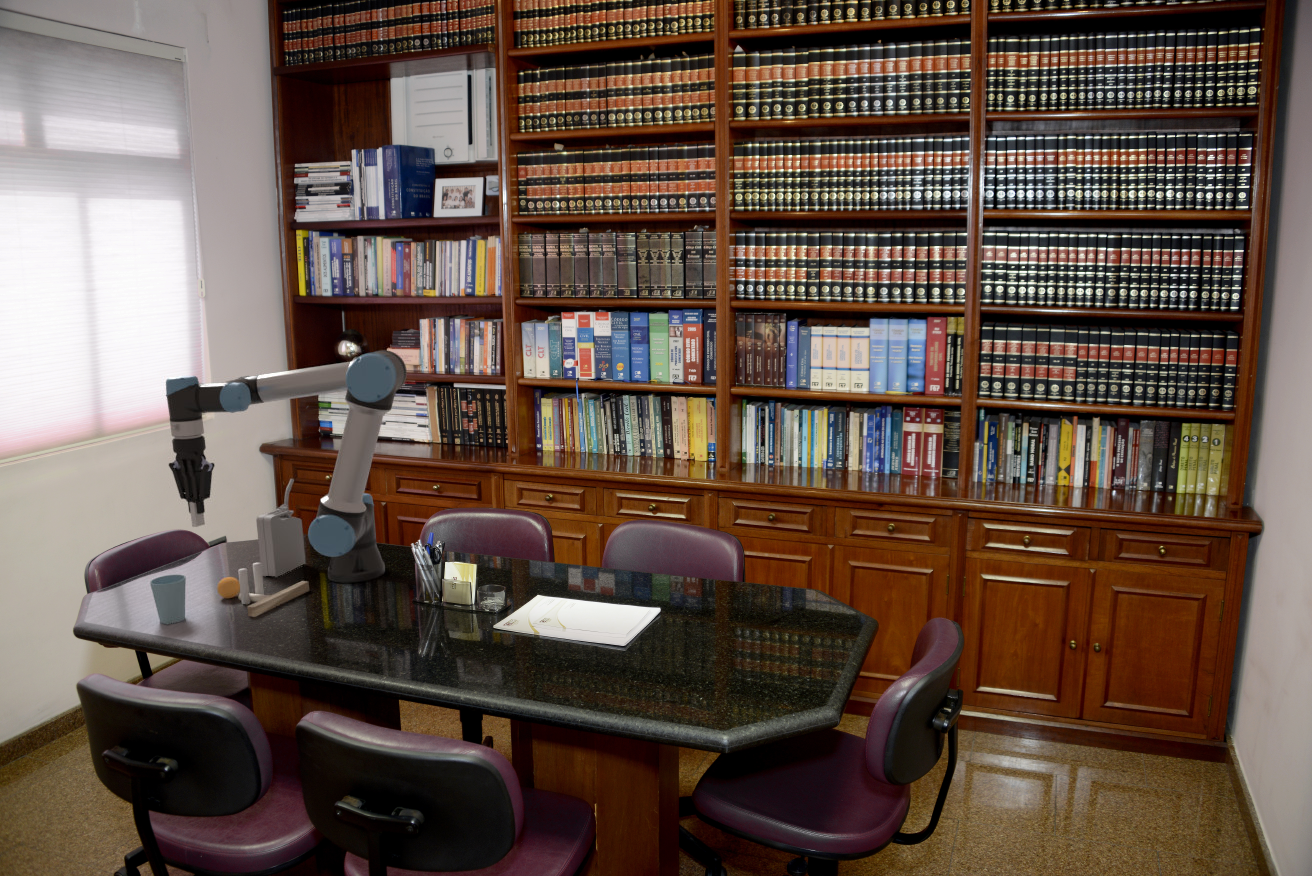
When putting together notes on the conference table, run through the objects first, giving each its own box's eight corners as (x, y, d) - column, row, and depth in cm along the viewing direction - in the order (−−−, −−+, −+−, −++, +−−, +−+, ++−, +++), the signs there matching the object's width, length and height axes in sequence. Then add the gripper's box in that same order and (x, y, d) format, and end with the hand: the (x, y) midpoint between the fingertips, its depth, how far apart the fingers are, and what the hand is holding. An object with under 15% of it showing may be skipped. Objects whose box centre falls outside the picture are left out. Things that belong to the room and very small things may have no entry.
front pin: (245, 595, 242) (273, 598, 239) (241, 601, 241) (269, 604, 238) (241, 590, 241) (269, 593, 238) (237, 597, 239) (265, 600, 237)
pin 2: (265, 595, 243) (262, 562, 242) (260, 598, 241) (257, 565, 240) (259, 595, 244) (256, 562, 242) (254, 597, 242) (250, 564, 241)
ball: (231, 570, 244) (226, 587, 246) (215, 577, 239) (210, 594, 241) (247, 580, 243) (242, 597, 245) (231, 587, 238) (226, 605, 240)
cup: (189, 622, 225) (184, 581, 223) (153, 628, 222) (148, 586, 220) (191, 612, 232) (186, 572, 230) (156, 617, 229) (151, 577, 227)
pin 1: (252, 602, 239) (248, 568, 237) (246, 604, 237) (242, 571, 235) (245, 601, 239) (242, 568, 238) (239, 604, 237) (236, 570, 236)
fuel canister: (297, 560, 274) (289, 477, 269) (311, 561, 272) (304, 478, 268) (261, 576, 259) (252, 489, 255) (275, 578, 258) (267, 490, 254)
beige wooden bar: (309, 590, 247) (308, 581, 246) (255, 616, 228) (254, 607, 228) (303, 590, 247) (302, 580, 247) (248, 616, 229) (247, 606, 228)
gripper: (156, 438, 237) (167, 527, 241) (196, 439, 232) (207, 530, 236) (179, 433, 244) (190, 520, 248) (219, 434, 239) (229, 523, 243)
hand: (198, 525), depth 242 cm, fingers closed
